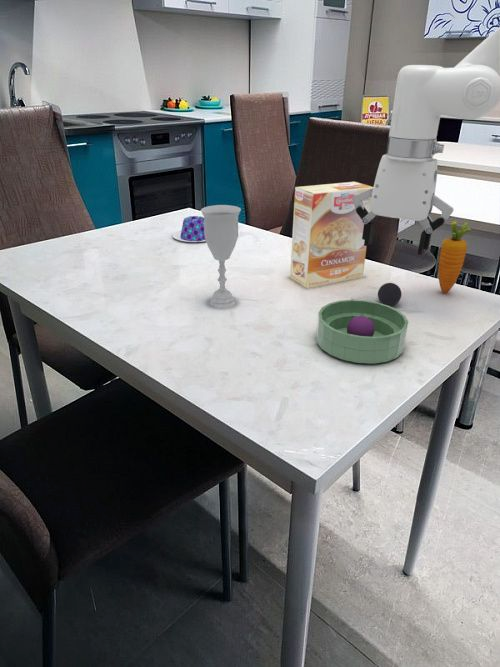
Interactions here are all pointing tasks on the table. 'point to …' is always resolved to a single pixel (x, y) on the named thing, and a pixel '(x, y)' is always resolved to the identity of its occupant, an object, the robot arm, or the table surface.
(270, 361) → the table surface
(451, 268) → the carrot
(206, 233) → the chalice
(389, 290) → the charcoal ball
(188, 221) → the pudding
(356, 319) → the plum ball
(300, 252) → the coffeecake box
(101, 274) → the table surface
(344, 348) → the bowl
